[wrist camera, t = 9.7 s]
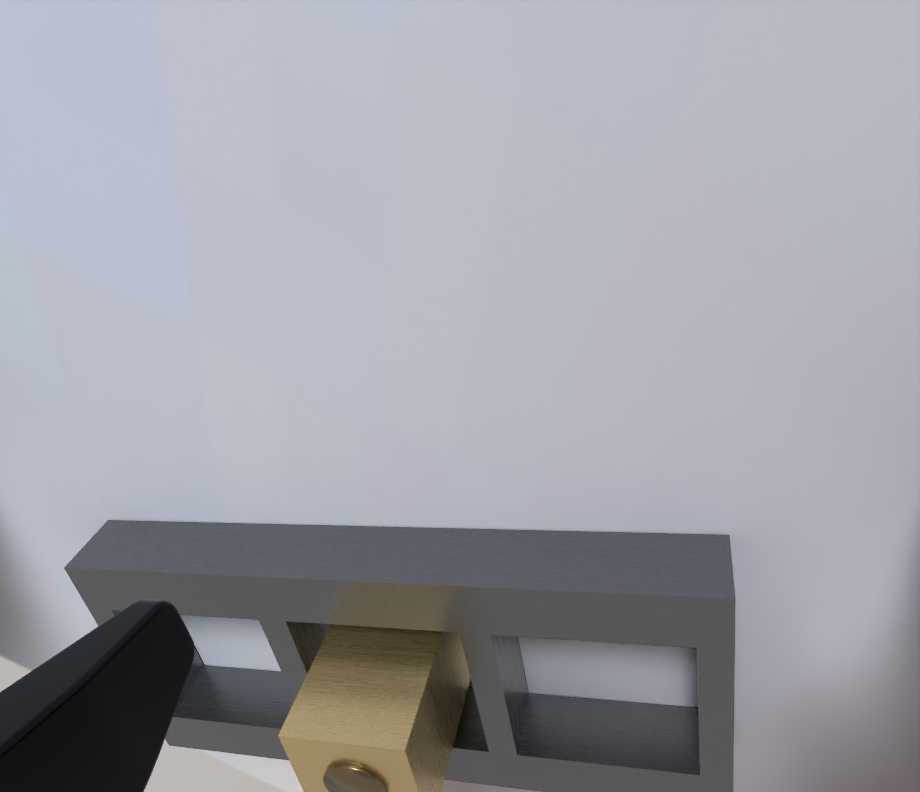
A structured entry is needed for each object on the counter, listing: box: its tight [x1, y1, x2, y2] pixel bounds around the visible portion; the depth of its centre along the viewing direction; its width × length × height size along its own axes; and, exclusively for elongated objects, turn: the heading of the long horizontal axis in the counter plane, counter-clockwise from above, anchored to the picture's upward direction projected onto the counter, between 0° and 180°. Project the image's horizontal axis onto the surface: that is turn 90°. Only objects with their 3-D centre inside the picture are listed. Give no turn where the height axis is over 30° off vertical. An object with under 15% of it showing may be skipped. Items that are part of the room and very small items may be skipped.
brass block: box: [278, 624, 471, 792], centre depth 25 cm, size 4×4×6 cm
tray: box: [64, 520, 735, 792], centre depth 27 cm, size 22×10×2 cm, turn 99°
